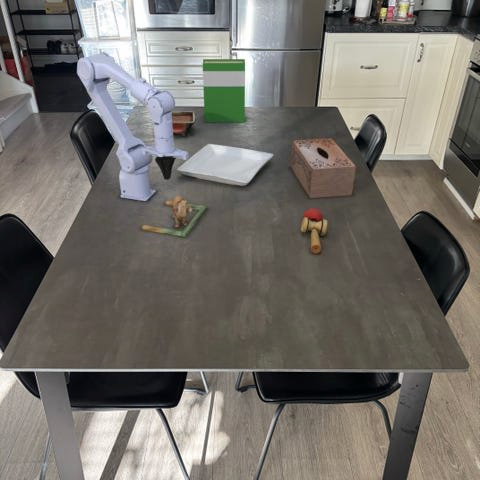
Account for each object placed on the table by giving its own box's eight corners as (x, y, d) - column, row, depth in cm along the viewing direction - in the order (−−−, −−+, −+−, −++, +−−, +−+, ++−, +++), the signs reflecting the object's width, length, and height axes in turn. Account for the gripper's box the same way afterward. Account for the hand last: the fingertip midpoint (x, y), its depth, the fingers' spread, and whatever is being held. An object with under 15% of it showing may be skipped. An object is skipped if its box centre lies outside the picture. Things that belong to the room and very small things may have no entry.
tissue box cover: (290, 167, 197) (292, 140, 191) (328, 164, 199) (331, 138, 193) (310, 198, 177) (312, 169, 171) (351, 195, 179) (355, 166, 173)
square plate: (176, 179, 189) (175, 168, 186) (208, 152, 208) (208, 142, 206) (247, 191, 181) (247, 181, 178) (274, 162, 200) (274, 152, 198)
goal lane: (142, 229, 160) (142, 226, 160) (167, 203, 174) (167, 200, 173) (184, 236, 157) (184, 233, 156) (206, 209, 171) (206, 206, 170)
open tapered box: (192, 144, 220) (195, 119, 214) (149, 137, 218) (150, 112, 213) (195, 134, 232) (197, 111, 226) (153, 128, 230) (155, 104, 225)
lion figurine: (195, 230, 160) (193, 202, 155) (178, 233, 159) (175, 205, 153) (182, 208, 171) (180, 182, 165) (166, 211, 170) (164, 184, 164)
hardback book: (204, 122, 235) (202, 63, 220) (205, 116, 241) (203, 59, 226) (244, 122, 236) (245, 63, 221) (244, 116, 241) (244, 59, 226)
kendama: (331, 257, 151) (326, 219, 163) (330, 239, 146) (324, 201, 159) (304, 260, 152) (300, 222, 164) (302, 243, 148) (298, 205, 160)
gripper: (135, 137, 158) (140, 180, 167) (180, 143, 155) (183, 186, 163) (146, 129, 163) (150, 171, 172) (190, 134, 160) (192, 177, 168)
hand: (167, 178), depth 168 cm, fingers closed
